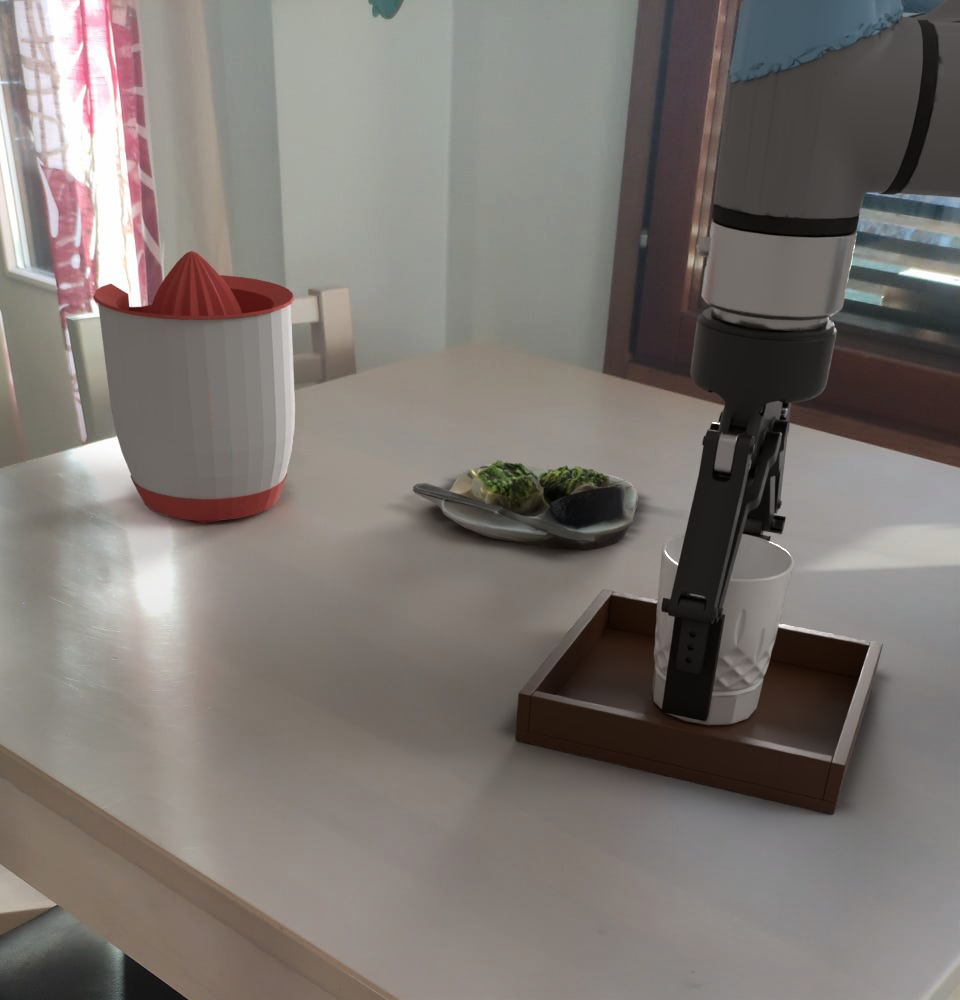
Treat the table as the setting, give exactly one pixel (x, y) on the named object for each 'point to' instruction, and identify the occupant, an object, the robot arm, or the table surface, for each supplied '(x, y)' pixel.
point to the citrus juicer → (202, 391)
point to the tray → (695, 747)
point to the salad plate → (539, 504)
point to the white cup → (732, 626)
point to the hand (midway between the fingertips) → (710, 668)
